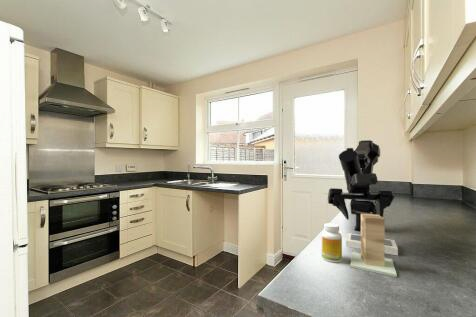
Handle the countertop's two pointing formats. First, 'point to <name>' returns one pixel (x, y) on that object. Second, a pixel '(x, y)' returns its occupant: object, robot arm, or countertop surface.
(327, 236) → the supplement bottle
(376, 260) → the oak post
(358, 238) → the label panel
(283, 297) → the countertop surface
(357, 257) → the mat
